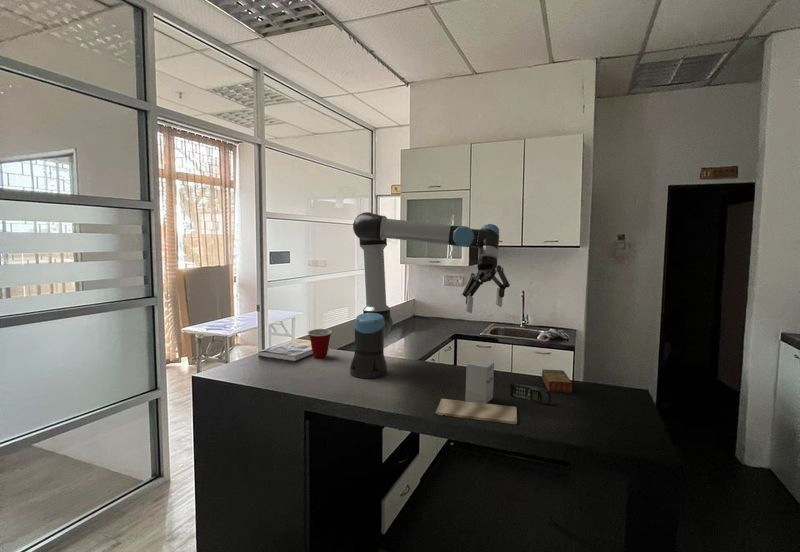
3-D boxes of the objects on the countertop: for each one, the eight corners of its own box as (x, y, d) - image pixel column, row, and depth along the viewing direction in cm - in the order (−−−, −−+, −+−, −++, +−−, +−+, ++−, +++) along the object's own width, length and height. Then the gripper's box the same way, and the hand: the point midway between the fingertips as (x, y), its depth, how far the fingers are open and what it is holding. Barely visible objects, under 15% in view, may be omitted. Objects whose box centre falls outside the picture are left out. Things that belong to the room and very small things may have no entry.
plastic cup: (303, 359, 188) (304, 332, 187) (312, 353, 199) (312, 328, 198) (327, 360, 186) (327, 334, 185) (334, 354, 197) (335, 329, 196)
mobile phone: (509, 383, 146) (553, 392, 137) (512, 381, 148) (556, 389, 139) (509, 397, 146) (553, 407, 137) (512, 395, 148) (556, 404, 139)
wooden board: (435, 414, 129) (435, 412, 129) (441, 400, 140) (441, 398, 140) (516, 424, 123) (517, 421, 123) (516, 409, 134) (516, 406, 134)
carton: (547, 392, 152) (548, 380, 152) (541, 378, 168) (541, 368, 168) (572, 393, 151) (572, 382, 151) (563, 380, 167) (563, 369, 166)
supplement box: (485, 405, 137) (487, 367, 136) (464, 400, 141) (465, 363, 140) (493, 398, 143) (494, 362, 142) (473, 394, 147) (474, 358, 146)
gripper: (520, 255, 160) (518, 306, 150) (468, 271, 177) (463, 318, 167) (509, 246, 156) (506, 298, 146) (457, 263, 173) (451, 310, 163)
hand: (483, 308), depth 157 cm, fingers open, 13 cm apart
